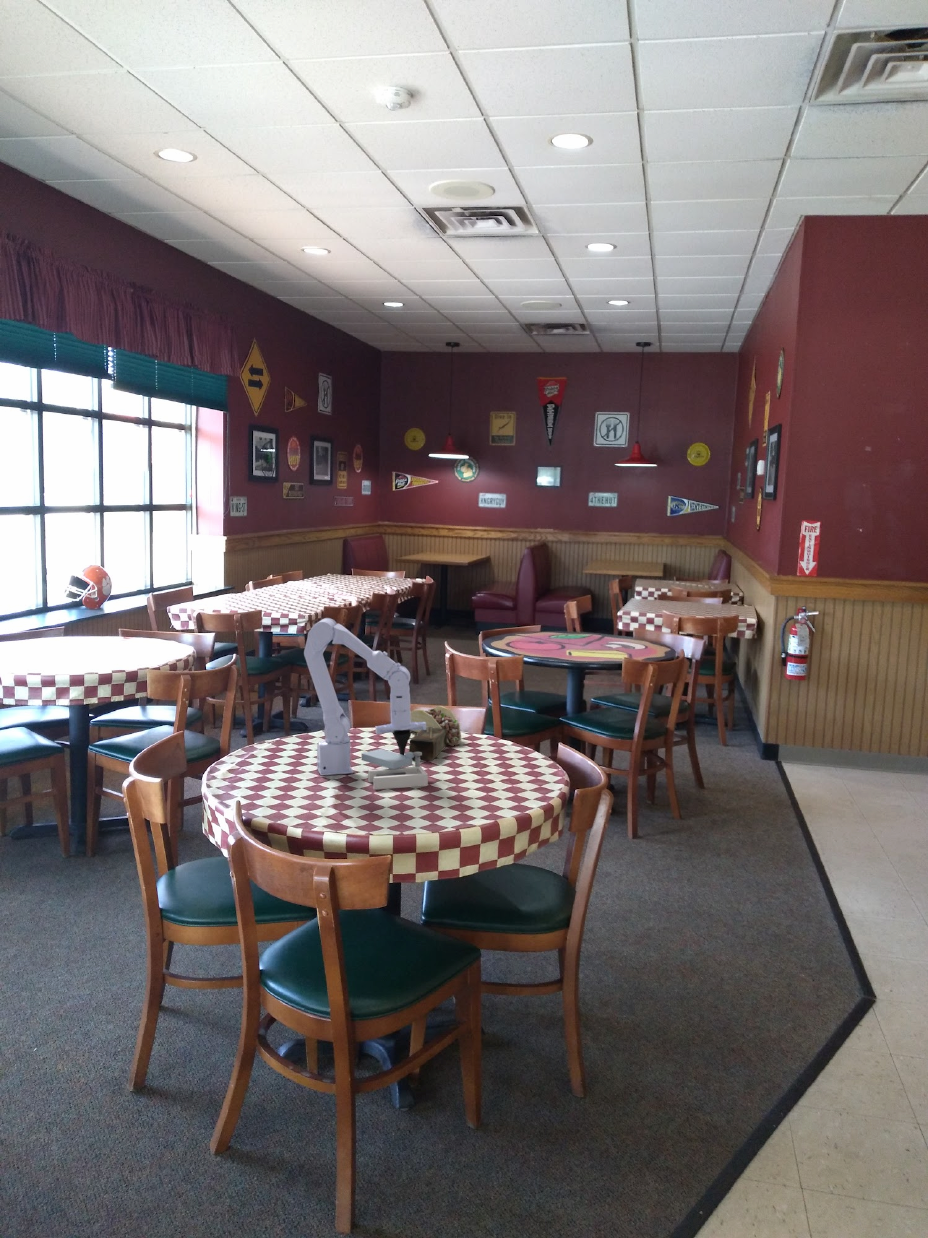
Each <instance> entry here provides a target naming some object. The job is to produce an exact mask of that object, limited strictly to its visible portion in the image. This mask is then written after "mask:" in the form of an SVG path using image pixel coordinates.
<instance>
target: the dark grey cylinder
mask: <svg viewBox="0 0 928 1238" xmlns="http://www.w3.org/2000/svg"><path fill="white" fill-rule="evenodd" d="M393 775H406V773H405V772H400V773H386V774H376V777H379V776H393Z"/></svg>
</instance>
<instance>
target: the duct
mask: <svg viewBox="0 0 928 1238" xmlns="http://www.w3.org/2000/svg"><path fill="white" fill-rule="evenodd" d="M367 772H368V773H367V774H368V775H367V777H368V780H367V782H368V783H372V784H373V787H372V789H373V790H385V789H387V790H389V789H400V788H413V787H426V786H429V784H428V783H429V774H428V773H427V772H426V770H424V768H422V766H421V760H420V756H415V759H414V766H404V767H401V768H397V769H389V768H378V769H368V771H367ZM400 772H405V773H406V775H393V776H379V777H376V774H386V773H400Z"/></svg>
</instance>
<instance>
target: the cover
mask: <svg viewBox="0 0 928 1238" xmlns="http://www.w3.org/2000/svg"><path fill="white" fill-rule="evenodd" d="M421 755H422V752H414V753H413V752H409V751H406V752H405V753H404V755H401V754H400V753H397V752H393V751H389V750H387V749H384V748H379V749H374V750H370V751H366V752H363V753H361V761H363V762H367V763H369V764H373V765H376V766H380V767H383V768H385V769H397V768H405V767H409V766H411V765H413V759H412V758H414V756H421Z"/></svg>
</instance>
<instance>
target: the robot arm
mask: <svg viewBox="0 0 928 1238" xmlns="http://www.w3.org/2000/svg"><path fill="white" fill-rule="evenodd" d="M331 641H332V645H344V646H346V647H347V648H348V649H350V650H351V651H352V652H354V653H355V654H357V655H358V656H360V657H361V658H363V659H364V660H365V661H366V665H367V667H368V668H369V669H370V670H371V671H373V672H374V673H376V674H377V675H378V676H379V677H380V678H382V679H383V680H386V681H387V682H388V685H389V687H390V694H389V698H390V699H389V701H390V707H389V708H390V723H388V724H383V725H375V726H374V727H375V734H376V735H381V734H388V733H392V736H393V737H394V739H395V741H396V743H397V747H398V751H399V754H401V755H405V753H406V752H405V751H406V747H407V744H408V742H409V741H410V740H409V739H410V738H411V735H412V731H411V730H426V723H425V722H411V712H412V710H411V692H410V691H411V690H410V685H409V683H410V681H411V673H410V671H409V670H408V669H407V667H406V666H404V665H401V663H400V662H395V661H394V660H393V659H391V658H390V657H389V656H388V652H386V651H383V652H382V651H381V650H372V649H371V648H370V647H369V646H368V645H366V644H365V643H364V642H363V641H362V640H361V639H359V638H358V637H357V636H356V635H355V634H353V633H352V632H351V631H350V630H349V629H347V628H346V627H345V626H344V625H342V624H340V623H337V622H336V621H335V619H332V618H330V617H325V618H322V619H320V620H319V621H318V622H315V623H314V624H313V625H312V627H311V628H310V629H309V631H308V632H307V639H306V642H305V647H304V650H303V656H304V659H305V661H306V665H307V668H308V670H309V674H310V677H311V680H312V682H313V686H314V688H315V691H316V694H317V698H318V700H319V704H320V707H321V710H322V715H323V716H322V718H323V723H324V730H323V733H324V737H325V739H324V741H318V742H317V744H316V745H317V748H316V761H317V762H316V769H317V771H318V773H319V774H320V776H333V775H347V774H354V770H353V768H352V767H351V738H350V736H349V733H350V731H351V729H352V722H351V720H350V719H349V718H348V716H347V715H346V714H345V711H344V709H343V707H341V705H340V702H339V699H338V697H337V693H336V691H335V688H334V683H333V682H332V679H331V676H330V672H329V669H328V666H327V664H326V661H325V658H324V652H325V650H326V649H327V647H328V646H329V644H330V642H331Z"/></svg>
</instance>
